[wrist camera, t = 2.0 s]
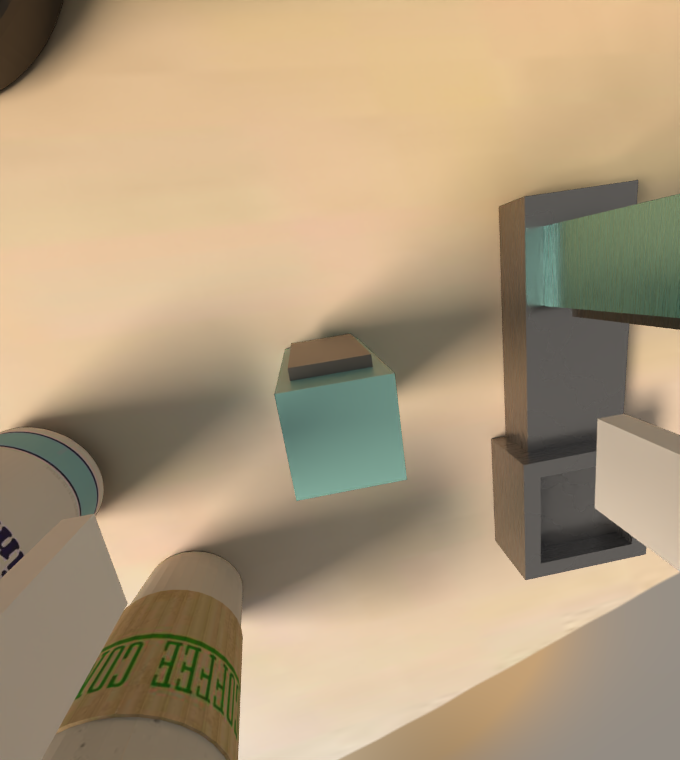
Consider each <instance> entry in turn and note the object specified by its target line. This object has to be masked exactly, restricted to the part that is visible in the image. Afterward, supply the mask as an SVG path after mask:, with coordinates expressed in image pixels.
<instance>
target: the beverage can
mask: <svg viewBox="0 0 680 760" xmlns="http://www.w3.org/2000/svg"><path fill="white" fill-rule="evenodd" d="M103 494H104V485H103V479H102V475H101V472H100V470H99V468H98V466H97V464H96V463H95V461H94V460H93V458H92V457H91V456H90V454H89V453H88V452H87V451H86V450H85V449H84V448H82V447H81V446H80V445H79V444H77V443H76V442H75V441H73V440H71V439H70V438H68V437H66V436H64V435H62V434H59V433H57V432H54V431H50V430H46V429H41V428H31V427H23V428H14V429H9V430H5V431H2V432H0V579H1V578H2V577H3V576H4V575H5V574H6V573H7V572H8V571H9V570H10V569H11V568H12V567H13V566H14V565H15V564H16V563H17V562H18V561H20V560H21V559H22V558H23V557H24V556H25V555H26V554H27V553H28V552H29V551H30V550H31V549H32V548H33V547H34V546H35V545H36V544H37V543H38V542H39V541H40V540H41V539H42V538H43V537H44V536H45V535H46V534H48V533H49V532H50V531H51V530H52V529H53V528H54V527H55V526H56V525H57V524H58V523H59V522H60V521H61V520H63V519H68V518H74V517H79V516H84V515H90V514H94V515H96V514H97V512H98V510H99V508H100V506H101V503H102V500H103Z"/></svg>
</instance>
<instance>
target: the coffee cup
mask: <svg viewBox="0 0 680 760" xmlns="http://www.w3.org/2000/svg"><path fill="white" fill-rule="evenodd" d="M242 595H243V586H242V580H241V578H240V575H239V573H238V572H237V570H236V569H235V568H234V567H233V566H232V565H231V564H230V563H229V562H228V561H226V560H225V559H223V558H222V557H219V556H217V555H214V554H212V553H207V552H199V551H191V552H183V553H180V554H176V555H173V556H171V557H169V558H167V559H166V560H164V561H163V562H162V563H160V564H159V565H158V566H157V567H156V568H155V569H154V571H153V572H152V574H151V575H150V576H149V578H148V579H147V581H146V582H145V584H144V585H143V587H142V588H141V590H140V591H139V592H138V594H137V595H136V597H135V598H134V600H133V601H132V603H131V604H130V605H129V606H128V607H127V608H126V609H125V610H124V611H123V613H122V615H121V616H120V618H119V620H118V622H117V624H116V625H115V627H114V629H113V631H112V633H111V635H110V636H109V638H108V640H107V642H106V644H105V645H104V647H103V649H102V651H101V653H100V654H99V656H98V658H97V660H96V662H95V664H94V665H93V667H92V669H91V671H90V673H89V674H88V676H87V678H86V680H85V682H84V683H83V685H82V687H81V689H80V691H79V693H78V694H77V696H76V698H75V700H74V702H73V703H72V705H71V707H70V709H69V711H68V713H67V714H66V716H65V718H64V720H63V722H62V723H61V725H60V727H59V729H58V731H57V732H56V734H55V736H54V738H53V740H52V742H51V743H50V745H49V747H48V749H47V751H46V752H45V754H44V756H43V758H42V760H238V744H239V718H240V692H241V666H242V640H243V637H242V630H241V615H242Z"/></svg>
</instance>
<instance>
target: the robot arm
mask: <svg viewBox="0 0 680 760" xmlns="http://www.w3.org/2000/svg"><path fill="white" fill-rule="evenodd" d="M62 2H63V0H0V90H2V89H3V88H5V87H6V86H8V85H9V84H10V83H12V82H13V81H14V80H16V79H17V78H18V77H19V76H20V75H21V74H22V73H24V71H25V70H26V69H27V68H28V67H29V66H30V65H31V64H32V63H33V61H34V60H35V59H36V58H37V56H38V55H39V54H40V52H41V51H42V49H43V47H44V46H45V44H46V43H47V41H48V39H49V37H50V35H51V33H52V31H53V29H54V26H55V24H56V21H57V19H58V16H59V13H60V9H61V6H62ZM595 509H597V510H598V511H599V512H601V513H602V514H603V515H605V516H606V517H607V518H609V519H610V520H611V521H613V522H614V523H615V524H617V525H618V526H619V527H621V528H622V529H623V530H625V531H626V532H627V533H629V534H630V535H631V536H633V537H634V538H635V539H637V540H638V541H639V542H641V543H642V544H643V545H645V546H646V547H647V548H649V549H650V550H651V551H653V552H654V553H655V554H657V555H658V556H659V557H661V558H662V559H663V560H665V561H666V562H667V563H669V564H670V565H671V566H673V567H674V568H675V569H677V570H678V571H680V435H678V434H676V433H673V432H670V431H668V430H665V429H663V428H660V427H658V426H655V425H652V424H650V423H647V422H645V421H642V420H639V419H637V418H634V417H632V416H629V415H626V414H620V415H615V416H610V417H604V418H599V419H598V421H597V452H596V483H595ZM127 604H128V603H127V601H126V598H125V595H124V593H123V590H122V587H121V585H120V582H119V579H118V577H117V574H116V571H115V569H114V566H113V563H112V561H111V558H110V555H109V553H108V550H107V547H106V544H105V542H104V539H103V536H102V534H101V531H100V528H99V526H98V523H97V520H96V518H95V515H94V514H90V515H84V516H79V517H74V518H68V519H63V520H61V521H60V522H59V523H58V524H57V525H56V526H55V527H54V528H53V529H52V530H51V531H50V532H49V533H48V534H46V535H45V536H44V537H43V538H42V539H41V540H40V541H39V542H38V543H37V544H36V545H35V546H34V547H33V548H32V549H31V550H30V551H29V552H28V553H27V554H26V555H25V556H24V557H23V558H22V559H21V560H20V561H18V562H17V563H16V564H15V565H14V566H13V567H12V568H11V569H10V570H9V571H8V572H7V573H6V574H5V575H4V576H3V577H2V578H1V579H0V760H42V758H43V756H44V754H45V752H46V751H47V749H48V747H49V745H50V743H51V742H52V740H53V738H54V736H55V734H56V732H57V731H58V729H59V727H60V725H61V723H62V722H63V720H64V718H65V716H66V714H67V713H68V711H69V709H70V707H71V705H72V703H73V702H74V700H75V698H76V696H77V694H78V693H79V691H80V689H81V687H82V685H83V683H84V682H85V680H86V678H87V676H88V674H89V673H90V671H91V669H92V667H93V665H94V664H95V662H96V660H97V658H98V656H99V654H100V653H101V651H102V649H103V647H104V645H105V644H106V642H107V640H108V638H109V636H110V635H111V633H112V631H113V629H114V627H115V625H116V624H117V622H118V620H119V618H120V616H121V615H122V613H123V611H124V609H125V607H126V606H127Z"/></svg>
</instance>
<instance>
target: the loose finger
mask: <svg viewBox="0 0 680 760" xmlns="http://www.w3.org/2000/svg"><path fill="white" fill-rule="evenodd" d="M274 395H275V399H276V404H277V409H278V414H279V419H280V423H281V428H282V433H283V438H284V443H285V447H286V452H287V457H288V462H289V467H290V472H291V476H292V481H293V486H294V491H295V496H296V500H297V501H299V500H304V499H309V498H314V497H319V496H324V495H330V494H335V493H340V492H345V491H350V490H356V489H361V488H366V487H371V486H376V485H381V484H387V483H392V482H397V481H402V480H407V477H406V468H405V460H404V451H403V442H402V433H401V424H400V415H399V407H398V398H397V389H396V380H395V373H394V372H393V371H392V370H391V369H390V368H389V367H388V366H387V365H386V364H384V363H383V362H382V361H381V360H380V359H379V358H378V357H377V356H376V355H375V354H374V353H373V352H372V351H371V350H369V349H368V348H367V347H366V346H365V345H364V344H363V343H362V342H361V341H360V340H359V339H358V338H357V337H353V336H352V335H351V334H345V335H339V336H333V337H327V338H321V339H315V340H309V341H303V342H297V343H291V348H288V349H285V351H284V355H283V360H282V364H281V368H280V372H279V377H278V381H277V385H276V389H275V394H274Z"/></svg>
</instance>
